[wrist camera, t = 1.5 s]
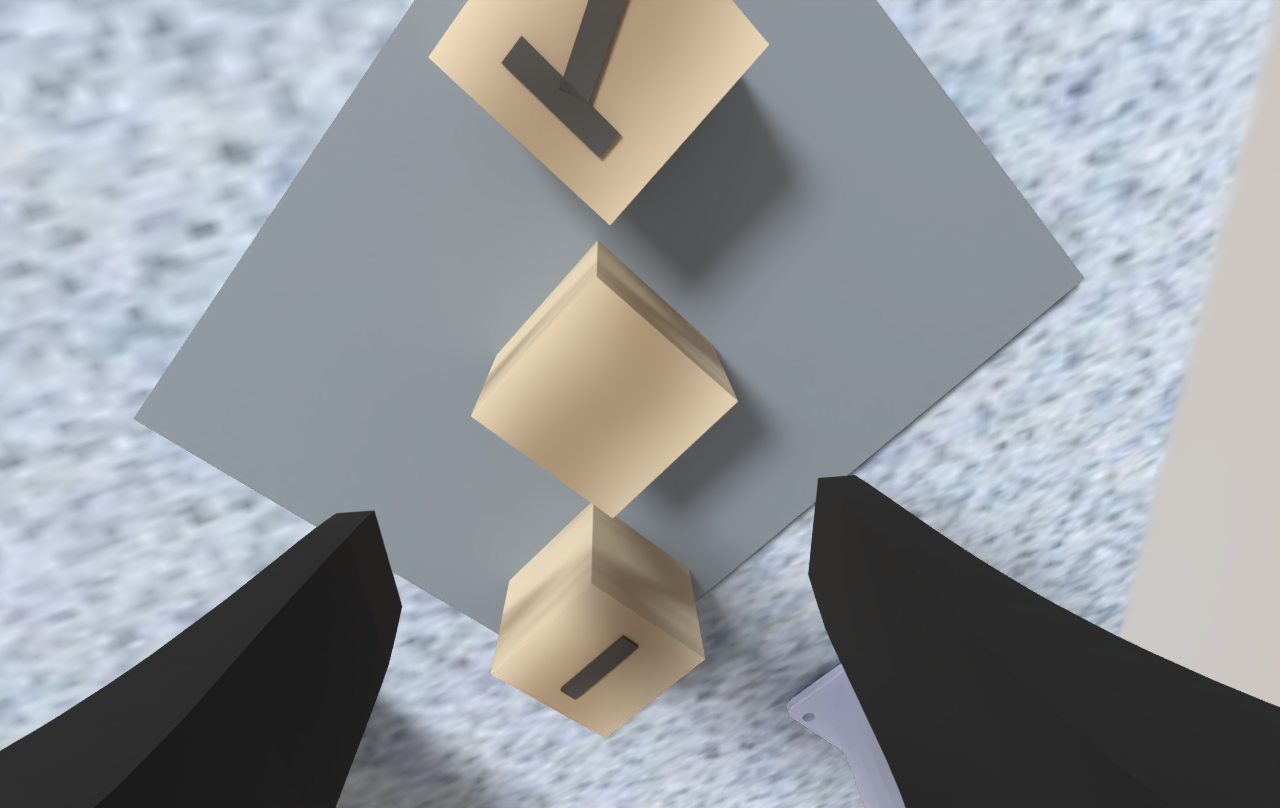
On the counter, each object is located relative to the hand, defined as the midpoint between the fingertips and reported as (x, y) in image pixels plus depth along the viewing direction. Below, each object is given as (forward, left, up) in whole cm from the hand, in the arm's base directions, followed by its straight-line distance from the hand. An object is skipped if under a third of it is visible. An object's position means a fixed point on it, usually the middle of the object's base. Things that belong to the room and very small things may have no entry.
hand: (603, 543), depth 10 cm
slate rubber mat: (0, 0, -10) cm, 10 cm away
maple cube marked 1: (-6, +7, -9) cm, 12 cm away
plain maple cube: (0, 0, -9) cm, 9 cm away
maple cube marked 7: (+5, -5, -9) cm, 12 cm away
